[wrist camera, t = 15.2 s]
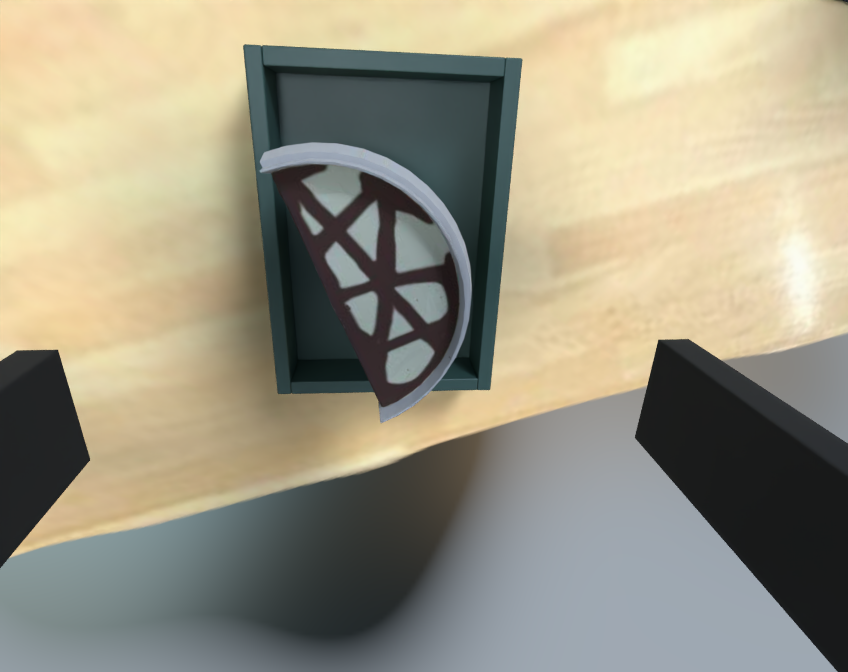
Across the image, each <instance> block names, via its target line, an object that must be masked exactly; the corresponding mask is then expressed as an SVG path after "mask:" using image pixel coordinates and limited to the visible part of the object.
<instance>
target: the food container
mask: <svg viewBox="0 0 848 672" xmlns="http://www.w3.org/2000/svg"><path fill="white" fill-rule="evenodd" d="M260 163H261V165H262V167H263V168H262V169H261V170H259V171H260V173H268V174H271V175H272V178H273V180H274V182H275V184H276V186H277V189H278V192H279V194H280V196H281V197H282V199H283V200H284V202H285V204H286V206H287V208H288V210H289V212H290V214H291V216H292V218H293V220H294V223H295V225H296V227H297V229H298V231H299V233H300V236H301V238H302V240H303V242H304V244H305V247H306V249H307V251H308V253H309V255H310V257H311V260H312V262H313V264H314V266H315V268H316V271H317V273H318V275H319V277H320V280H321V282H322V284H323V287H324V289H325V291H326V293H327V296H328V298H329V300H330V302H331V305H332V307H333V309H334V311H335V313H336V315H337V317H338V319H339V320H340V322H341V324H342V326H343V328H344V330H345V332H346V334H347V336H348V338H349V340H350V342H351V344H352V347H353V349H354V351H355V353H356V355H357V357H358V359H359V361H360V363H361V365H362V367H363V369H364V372H365V374H366V376H367V378H368V380H369V382H370V384H371V386H372V388H373V390H374V392H375V395H376V397H377V399H378V401H379V412H380V422H381V423H383V422H385V421H387V420H389V419H391V418H394V417H396V416H398V415H400V414H401V413H403V412H404V411H406V410H408V409H409V408H411V407H412V406H414V405H415V404H416V403H418V402H419V401H420V400H421V399H422V398H424V397H425V396H426V395H427V394H428V393H429V392H430V391H431V390H432V389H433V388H434V387H435V385H436V384H437V383H438V382H439V381H440V380H441V379H442V377H443V376H444V375H445V373H446V372H447V370H448V369H449V367H450V366H451V364H452V363H453V361H454V359H455V358H456V356H457V354H458V351H459V349H460V347H461V345H462V342H463V340H464V337H465V333H466V329H467V326H468V322H469V316H470V306H471V293H472V282H471V269H470V262H469V258H468V254H467V250H466V246H465V243H464V240H463V238H462V236H461V233H460V231H459V229H458V226H457V224H456V222H455V221H454V219H453V217H452V216H451V214H450V213H449V211H448V210H447V208H446V206H445V205H444V203H443V202H442V201H441V200H440V199H439V198H438V197H437V196H436V194H435V193H434V192H433V191H432V190H431V189H430V188H429V187H428V186H427V185H426V184H425V183H424V182H423V181H421V180H420V179H419V178H418V177H416V176H415V175H414V174H413V173H412V172H410V171H409V170H407V169H406V168H404V167H402V166H401V165H399V164H397V163H395V162H394V161H392V160H390V159H388V158H387V157H384V156H381V155H379V154H376V153H373V152H371V151H368V150H366V149H363V148H358V147H353V146H348V145H343V144H338V143H315V142H311V143H303V144H295V145H288V146H283V147H280V148H277V149H274V150H270V151H267V152H264V154H263V156H262V158H261V160H260Z"/></svg>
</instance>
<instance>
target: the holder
mask: <svg viewBox="0 0 848 672" xmlns="http://www.w3.org/2000/svg"><path fill="white" fill-rule="evenodd" d="M243 49H244V59H245V69H246V80H247V90H248V100H249V110H250V120H251V130H252V140H253V150H254V160H255V170H256V180H257V190H258V200H259V210H260V220H261V230H262V240H263V250H264V260H265V271H266V281H267V291H268V301H269V311H270V321H271V331H272V341H273V351H274V361H275V371H276V381H277V391H278V394H291V393H292V394H305V393H353V392H374V390H373V388H372V386H371V384H370V382H369V380H368V378H367V376H366V374H365V372H364V369H363V367H362V365H361V363H360V361H359V359H358V357H357V355H356V353H355V351H354V349H353V347H352V344H351V342H350V340H349V338H348V336H347V334H346V332H345V330H344V328H343V326H342V324H341V322H340V320H339V319H338V317H337V315H336V313H335V311H334V309H333V307H332V305H331V302H330V300H329V298H328V296H327V293H326V291H325V289H324V287H323V284H322V282H321V280H320V277H319V275H318V273H317V271H316V268H315V266H314V264H313V262H312V260H311V257H310V255H309V253H308V251H307V249H306V247H305V244H304V242H303V240H302V238H301V236H300V233H299V231H298V229H297V227H296V225H295V223H294V220H293V218H292V216H291V214H290V212H289V210H288V208H287V206H286V204H285V202H284V200H283V199H282V197H281V196H280V194H279V192H278V189H277V186H276V184H275V182H274V180H273V178H272V175H271V174H268V173H260V171H259V170H261V169H262V168H263V167H262V165H261V163H260V160H261V158H262V156H263V154H264V152H267V151H270V150H274V149H277V148H280V147H283V146H288V145H295V144H303V143H311V142H315V143H338V144H343V145H348V146H353V147H358V148H363V149H366V150H368V151H371V152H373V153H376V154H379V155H381V156H384V157H387V158H388V159H390V160H392V161H394V162H395V163H397V164H399V165H401V166H402V167H404V168H406V169H407V170H409V171H410V172H412V173H413V174H414V175H415V176H416V177H418V178H419V179H420V180H421V181H423V182H424V183H425V184H426V185H427V186H428V187H429V188H430V189H431V190H432V191H433V192H434V193H435V194H436V196H437V197H438V198H439V199H440V200H441V201H442V202H443V203H444V205H445V206H446V208H447V210H448V211H449V213H450V214H451V216H452V217H453V219H454V221H455V222H456V224H457V226H458V229H459V231H460V233H461V236H462V238H463V240H464V243H465V246H466V250H467V254H468V258H469V262H470V269H471V282H472V293H471V306H470V316H469V322H468V326H467V329H466V333H465V337H464V340H463V342H462V345H461V347H460V349H459V351H458V354H457V356H456V358H455V359H454V361H453V363H452V364H451V366H450V367H449V369H448V370H447V372H446V373H445V375H444V376H443V377H442V379H441V380H440V381H439V382H438V383H437V384H436V385H435V387H434V388H433V389H432V390H431V391H448V390H490V386H491V375H492V365H493V355H494V345H495V334H496V324H497V314H498V304H499V293H500V283H501V273H502V263H503V252H504V242H505V232H506V222H507V211H508V201H509V191H510V181H511V170H512V160H513V150H514V140H515V129H516V119H517V109H518V99H519V88H520V78H521V68H522V59H521V58H502V57H482V56H463V55H443V54H424V53H404V52H385V51H365V50H346V49H326V48H307V47H287V46H267V45H263V46H260V45H246V44H245V45H244V46H243Z"/></svg>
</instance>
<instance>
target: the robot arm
mask: <svg viewBox="0 0 848 672" xmlns="http://www.w3.org/2000/svg"><path fill="white" fill-rule="evenodd" d="M635 438H636V440H637V441H638V442H639V443H640V444H641V445H642V446H643V448H644V449H645V450H646V451H647V452H648V453H649V454H650V456H651V457H652V458H653V459H654V460H655V461H656V463H657V464H658V465H659V466H660V467H661V468H662V470H663V471H664V472H665V473H666V474H667V475H668V476H669V478H670V479H671V480H672V481H673V482H674V483H675V485H676V486H677V487H678V488H679V489H680V490H681V491H682V492H683V494H684V495H685V496H686V497H687V498H688V500H689V501H690V502H691V503H692V504H693V505H694V506H695V508H696V509H697V510H698V511H699V512H700V513H701V515H702V516H703V517H704V518H705V519H706V520H707V521H708V523H709V524H710V525H711V526H712V527H713V528H714V530H715V531H716V532H717V533H718V534H719V535H720V536H721V538H722V539H723V540H724V541H725V542H726V543H727V545H728V546H729V547H730V548H731V549H732V550H733V551H734V553H736V555H737V556H738V557H739V558H740V560H741V561H742V562H743V563H744V564H745V565H746V566H747V568H748V569H749V570H750V571H751V572H752V573H753V575H754V576H755V577H756V578H757V579H758V580H759V581H760V582H761V584H762V585H763V586H764V587H765V588H766V590H767V591H768V592H769V593H770V594H771V595H772V596H773V598H774V599H775V600H776V601H777V602H778V603H779V605H780V606H781V607H782V608H783V609H784V610H785V611H786V613H787V614H788V615H789V616H790V617H791V618H792V619H793V621H794V622H795V623H796V624H797V625H798V626H799V628H800V629H801V630H802V631H803V632H804V633H805V635H806V636H807V637H808V638H809V639H810V640H811V641H812V643H813V644H814V645H815V646H816V647H817V648H818V650H819V651H820V652H821V653H822V654H823V655H824V656H825V658H826V659H827V660H828V661H829V662H830V663H831V664H832V666H833V667H834V668H835V669H836V670H837V671H838V672H848V443H846V442H844V441H843V440H841V439H840V438H838V437H837V436H835V435H834V434H832V433H831V432H829V431H828V430H826V429H825V428H823V427H822V426H820V425H819V424H817V423H816V422H814V421H813V420H811V419H810V418H808V417H806V416H805V415H803V414H802V413H800V412H798V411H797V410H795V409H794V408H793V407H791V406H790V405H788V404H787V403H785V402H783V401H782V400H781V399H779V398H778V397H776V396H774V395H773V394H771V393H770V392H768V391H767V390H765V389H764V388H762V387H761V386H759V385H758V384H756V383H755V382H753V381H752V380H750V379H748V378H747V377H745V376H744V375H742V374H741V373H739V372H738V371H736V370H735V369H733V368H732V367H730V366H729V365H727V364H726V363H724V362H723V361H721V360H720V359H718V358H717V357H715V356H713V355H712V354H710V353H709V352H707V351H706V350H704V349H703V348H701V347H700V346H698V345H697V344H695V343H694V342H692V341H691V340H689V339H679V340H658V344H657V348H656V352H655V357H654V361H653V365H652V369H651V373H650V377H649V381H648V385H647V390H646V394H645V398H644V402H643V406H642V410H641V414H640V419H639V423H638V427H637V431H636V435H635ZM89 461H90V457H89V454H88V450H87V447H86V444H85V440H84V437H83V433H82V430H81V427H80V423H79V420H78V416H77V413H76V410H75V406H74V403H73V400H72V396H71V393H70V389H69V386H68V383H67V379H66V376H65V372H64V369H63V366H62V362H61V359H60V355H59V352H58V350H21V351H16V352H14V353H13V354H11V355H10V356H8V357H6V358H5V359H3V360H2V361H0V568H1V566H2V565H3V564H4V563H5V562H6V561H7V559H8V558H9V557H10V556H11V555H12V553H13V552H14V551H15V550H16V549H17V547H18V546H19V545H20V544H21V543H22V541H23V540H24V539H25V538H26V536H27V535H28V534H29V533H30V532H31V530H32V529H33V528H34V527H35V526H36V524H37V523H38V522H39V521H40V520H41V518H42V517H43V516H44V515H45V514H46V512H47V511H48V510H49V509H50V508H51V506H52V505H53V504H54V503H55V502H56V500H57V499H58V498H59V497H60V496H61V494H62V493H63V492H64V491H65V490H66V488H67V487H68V486H69V485H70V484H71V482H72V481H73V480H74V479H75V478H76V476H77V475H78V474H79V473H80V472H81V470H82V469H83V468H84V467H85V466H86V464H87V463H88V462H89Z"/></svg>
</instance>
